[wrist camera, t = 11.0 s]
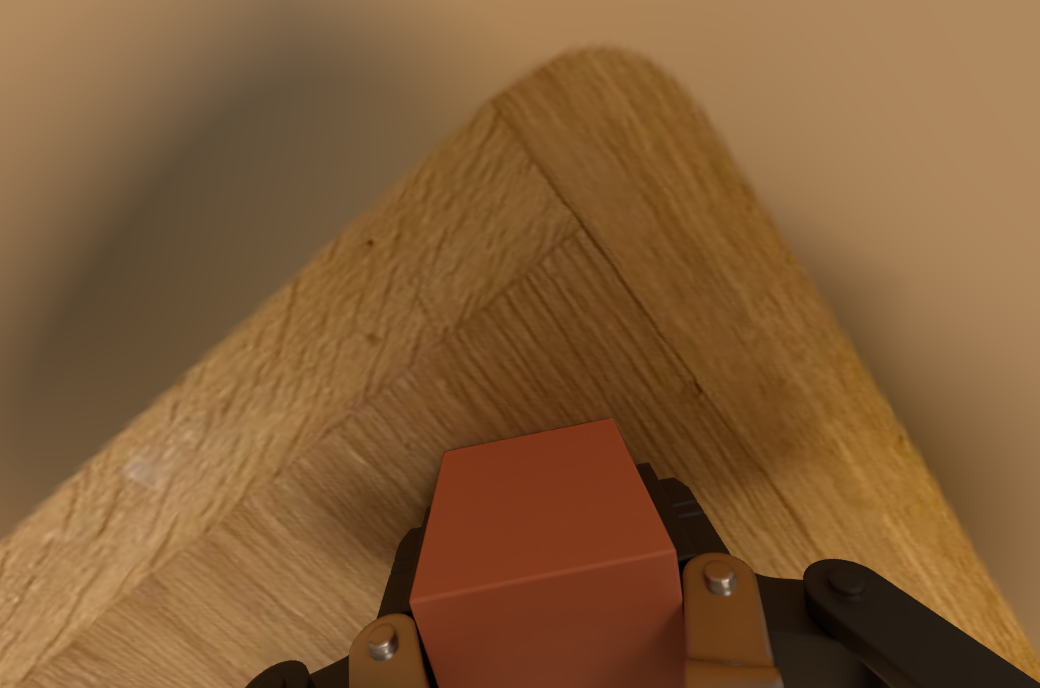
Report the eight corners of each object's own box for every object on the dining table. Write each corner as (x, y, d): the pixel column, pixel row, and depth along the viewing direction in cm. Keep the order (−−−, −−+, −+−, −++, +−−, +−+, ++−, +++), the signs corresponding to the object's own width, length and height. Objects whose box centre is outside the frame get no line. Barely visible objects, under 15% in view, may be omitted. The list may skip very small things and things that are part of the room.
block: (482, 586, 14) (470, 786, 9) (443, 450, 13) (406, 602, 8) (635, 556, 14) (703, 744, 9) (612, 416, 13) (677, 549, 8)
